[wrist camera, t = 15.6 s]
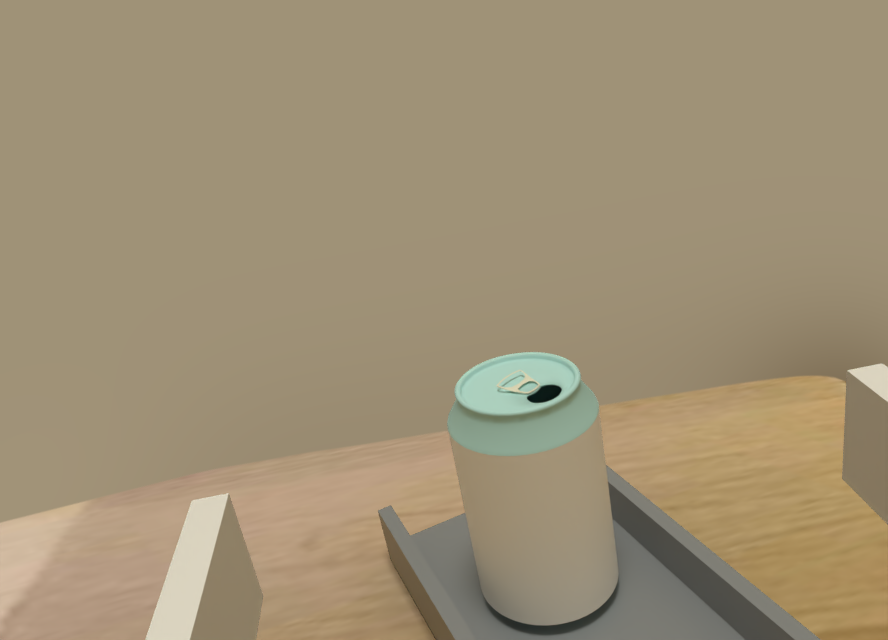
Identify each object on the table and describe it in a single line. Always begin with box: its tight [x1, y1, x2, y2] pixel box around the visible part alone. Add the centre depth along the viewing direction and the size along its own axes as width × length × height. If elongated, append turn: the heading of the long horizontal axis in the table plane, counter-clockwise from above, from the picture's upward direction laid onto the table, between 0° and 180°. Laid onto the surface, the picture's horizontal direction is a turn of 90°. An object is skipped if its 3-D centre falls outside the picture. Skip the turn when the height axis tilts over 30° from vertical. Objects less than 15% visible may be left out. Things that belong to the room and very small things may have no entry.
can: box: [447, 352, 619, 625], centre depth 38 cm, size 7×7×12 cm
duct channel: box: [378, 465, 820, 640], centre depth 38 cm, size 13×20×4 cm, turn 23°
